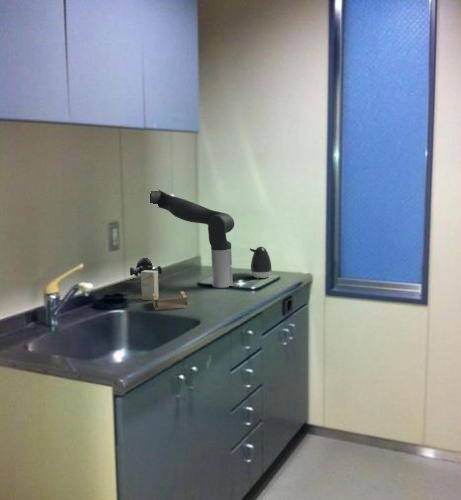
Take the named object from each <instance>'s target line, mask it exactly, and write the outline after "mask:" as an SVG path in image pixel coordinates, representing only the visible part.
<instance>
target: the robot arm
mask: <svg viewBox="0 0 461 500" xmlns="http://www.w3.org/2000/svg"><path fill="white" fill-rule="evenodd" d="M158 190H159V191H151V193H150V203H153V204H158V206H159V207H158V208H160V209H163V210H166V211H167V212H169V213H170V214H171V215H173V216H174V217H176V218H178V219H180V220H181V221H182V220H183V221H186V222H190V223H196V224H201V225H202V224H204V225H206V226H207V232H208V242H209V245H210V251H211V252H210V255H211V256H210V257H211V281H212V282H211V284H212V285H211V286H212V287H213V288H219V289H220V288H222V289H223V288H230V287H229V286H233V283H234V282H233V265H232V264H233V263H232V262H233V261H232V258H233V257H232V242H230V241H229V240H228V239H227V233H229V232H231V231H232V230H233V229H234V228H235V220H234V218H233V217H232V216H231V215H230V214H228V213H225V212H221V211H217V210H212V209H209V208H207V207H205V206H202V205H201V204H198V203H195V202H193V201H190V200H187V199H184V198H181V197H177V196H174V195H170V194H169V193H166V192H164V191H162V190H160V189H158ZM162 269H163V268H162V267H161V265H158V266H156V267H155V266H154V264H153V265H152V263H151V261H150V260H149V259H148V258H142V259H140V260H139V261H138V263H137V266H136V268H134V267H133V266H132V267H130V268H129V276H133V275H134V276H135V277H136V278H137V277H138V276H140V277H141V272H142V271H144V270H153V271H158V275H162V274H163V270H162ZM233 287H234V286H233Z"/></svg>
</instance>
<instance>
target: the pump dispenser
mask: <svg viewBox="0 0 461 500" xmlns="http://www.w3.org/2000/svg"><path fill="white" fill-rule="evenodd" d="M249 251H251V252H253V255H252V258H251V261H250V272H251V274H252V276H253V277H254V278H256V279H259V278H263V279H267V278H269V276H270V275H271V272H272V270H273V268H272V261H271V258H270V255H269V253H268V251H267V249H266V248H265V247H263V246H258V247H256V248H255V249H253V248H249Z"/></svg>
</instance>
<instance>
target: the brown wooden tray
mask: <svg viewBox="0 0 461 500" xmlns="http://www.w3.org/2000/svg"><path fill="white" fill-rule="evenodd" d="M179 292H180V297H172V298H171V297H170V298H158V299H157V297H156V294H155V293H152V300H151V301H152V304H153V305H152V306H153V307H154V311H160V310H172V309H185V308H187V309H188V307H189V306H188V296H187V295H186V293H185V292H184V290H180V291H179Z"/></svg>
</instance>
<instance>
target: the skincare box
mask: <svg viewBox="0 0 461 500" xmlns="http://www.w3.org/2000/svg"><path fill="white" fill-rule="evenodd" d="M140 281H141V282H140V283H141V284H140V286H141V288H140V289H141V300H144V301H145V300H146V301H152V293H155V294H156V297H157V299H160V298H159V297H160V296H159V274H158V271H153V270H144V271H142V272H141V276H140Z"/></svg>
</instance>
